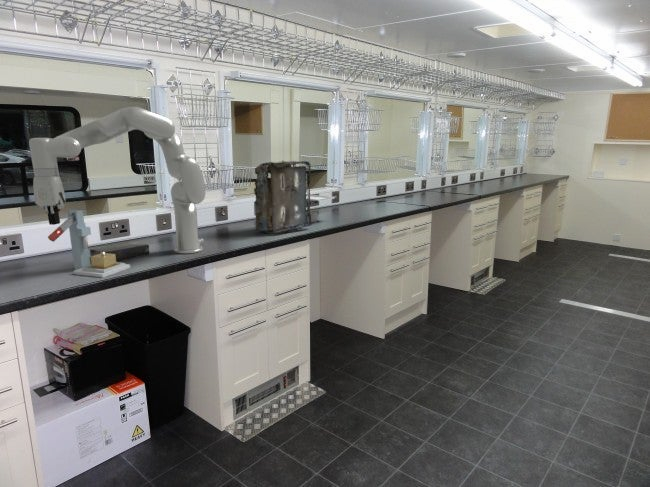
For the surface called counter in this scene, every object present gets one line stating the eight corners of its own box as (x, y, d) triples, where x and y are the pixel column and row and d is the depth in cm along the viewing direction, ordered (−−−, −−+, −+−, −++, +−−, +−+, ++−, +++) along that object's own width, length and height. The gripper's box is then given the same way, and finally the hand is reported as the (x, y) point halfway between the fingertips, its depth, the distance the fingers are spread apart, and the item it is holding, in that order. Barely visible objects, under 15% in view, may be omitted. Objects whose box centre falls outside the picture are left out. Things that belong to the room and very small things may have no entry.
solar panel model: (335, 220, 280) (335, 196, 276) (318, 225, 266) (317, 199, 263) (300, 216, 296) (300, 193, 293) (283, 220, 283) (282, 196, 279)
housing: (104, 265, 178) (102, 249, 177) (116, 266, 176) (114, 251, 175) (92, 269, 173) (90, 253, 171) (104, 270, 171) (102, 254, 169)
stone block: (150, 255, 200) (148, 243, 199) (105, 264, 185) (103, 252, 184) (134, 250, 209) (133, 239, 208) (90, 259, 194) (89, 247, 193)
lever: (77, 216, 176) (73, 211, 174) (82, 216, 175) (78, 211, 173) (50, 241, 165) (46, 235, 164) (55, 241, 165) (51, 236, 163)
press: (92, 263, 185) (85, 207, 180) (130, 267, 179) (124, 210, 174) (63, 272, 172) (55, 213, 167) (102, 277, 166) (95, 215, 161)
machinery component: (264, 237, 232) (261, 163, 223) (244, 232, 245) (241, 161, 237) (312, 229, 253) (311, 161, 245) (291, 224, 267) (290, 160, 258)
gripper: (21, 174, 160) (30, 225, 164) (53, 174, 155) (61, 227, 159) (40, 172, 166) (48, 221, 171) (71, 172, 162) (79, 223, 166)
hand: (54, 223), depth 165 cm, fingers closed
